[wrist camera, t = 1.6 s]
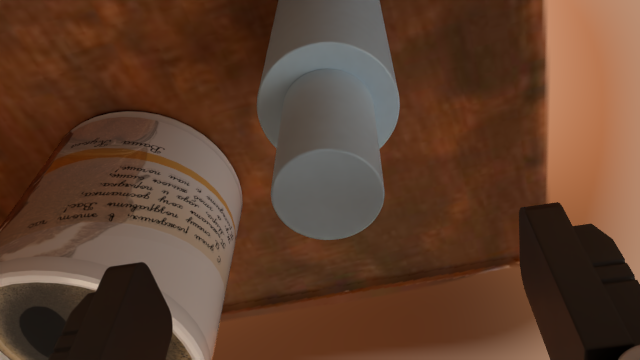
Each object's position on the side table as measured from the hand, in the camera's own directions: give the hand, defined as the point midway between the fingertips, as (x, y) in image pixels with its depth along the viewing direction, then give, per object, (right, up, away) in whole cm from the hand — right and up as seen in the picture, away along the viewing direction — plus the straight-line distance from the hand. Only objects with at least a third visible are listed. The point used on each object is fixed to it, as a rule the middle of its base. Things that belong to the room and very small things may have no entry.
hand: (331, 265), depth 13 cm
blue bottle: (0, +9, +12) cm, 15 cm away
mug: (-10, +1, +19) cm, 21 cm away
